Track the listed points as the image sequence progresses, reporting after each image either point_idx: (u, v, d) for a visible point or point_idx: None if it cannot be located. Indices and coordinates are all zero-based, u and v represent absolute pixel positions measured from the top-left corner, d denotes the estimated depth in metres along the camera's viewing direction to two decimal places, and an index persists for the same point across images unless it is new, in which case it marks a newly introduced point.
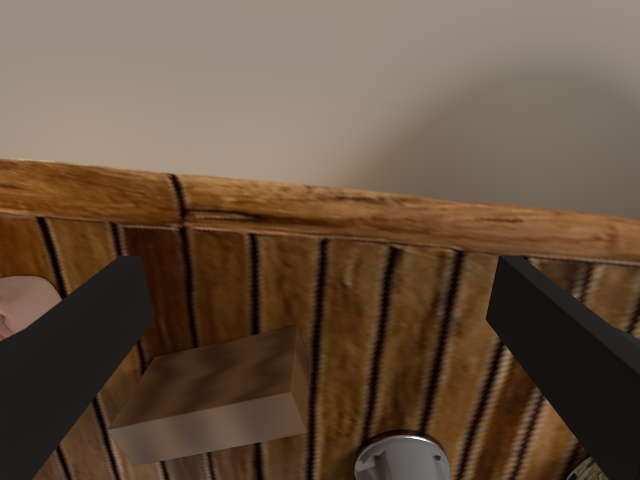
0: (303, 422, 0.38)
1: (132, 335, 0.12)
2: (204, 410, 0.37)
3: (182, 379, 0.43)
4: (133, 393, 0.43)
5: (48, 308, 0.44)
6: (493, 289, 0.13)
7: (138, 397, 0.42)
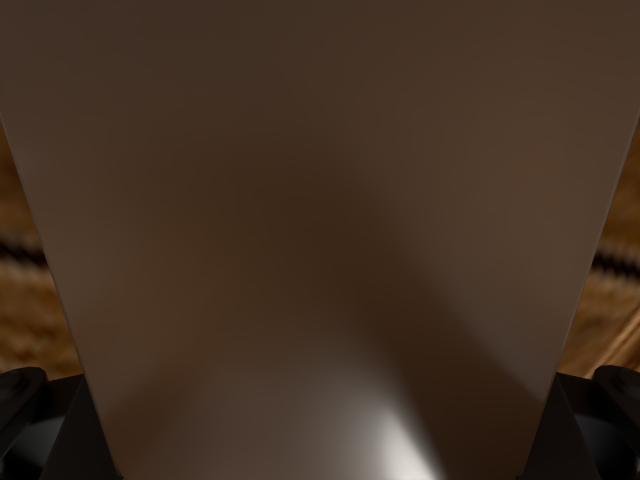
0: None
1: None
2: None
3: None
4: None
5: None
6: None
7: None
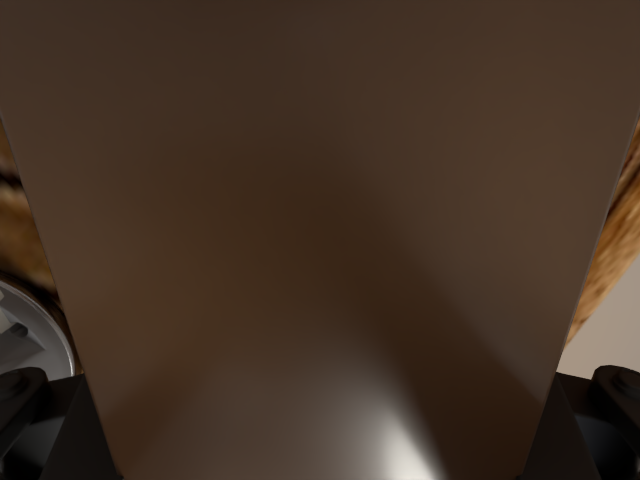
0: None
1: None
2: None
3: None
4: None
5: None
6: None
7: None
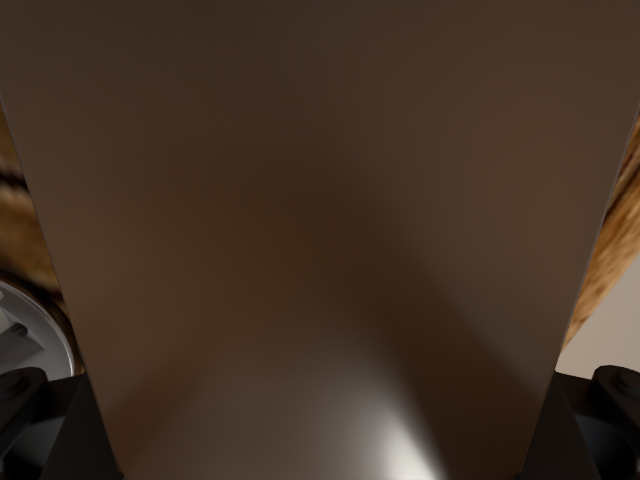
0: None
1: None
2: (639, 107, 0.03)
3: None
4: None
5: None
6: None
7: None
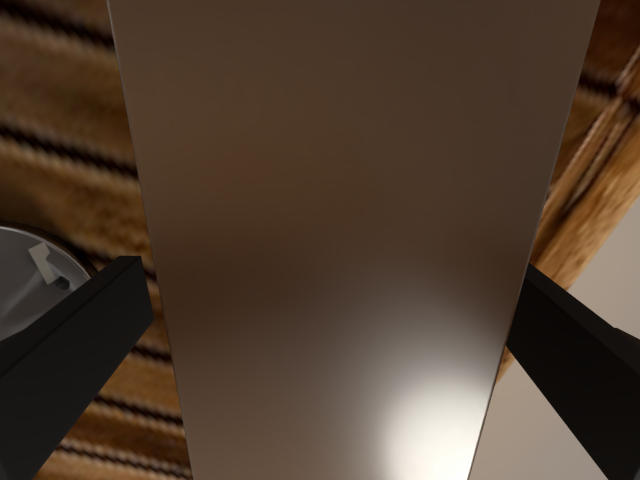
0: None
1: (132, 335, 0.12)
2: None
3: None
4: None
5: None
6: None
7: None
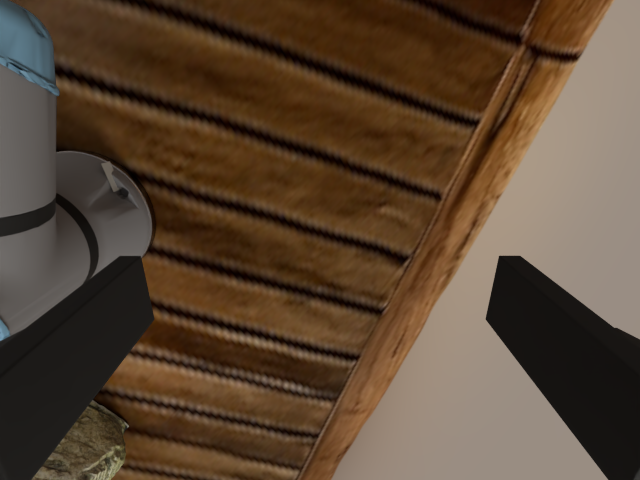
0: None
1: (133, 335, 0.12)
2: None
3: None
4: None
5: None
6: (493, 289, 0.13)
7: None
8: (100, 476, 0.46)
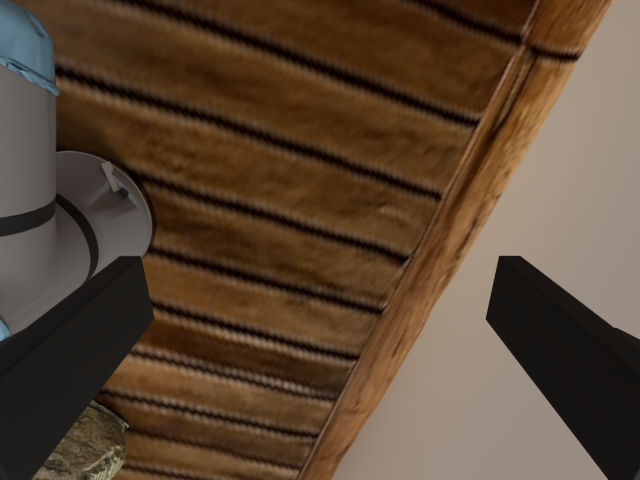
0: None
1: (133, 335, 0.12)
2: None
3: None
4: None
5: None
6: (493, 289, 0.13)
7: None
8: (100, 476, 0.46)
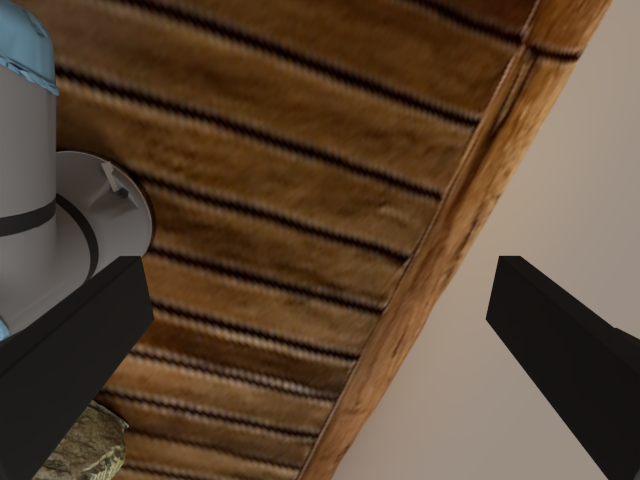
0: None
1: (133, 335, 0.12)
2: None
3: None
4: None
5: None
6: (493, 289, 0.13)
7: None
8: (100, 476, 0.46)
